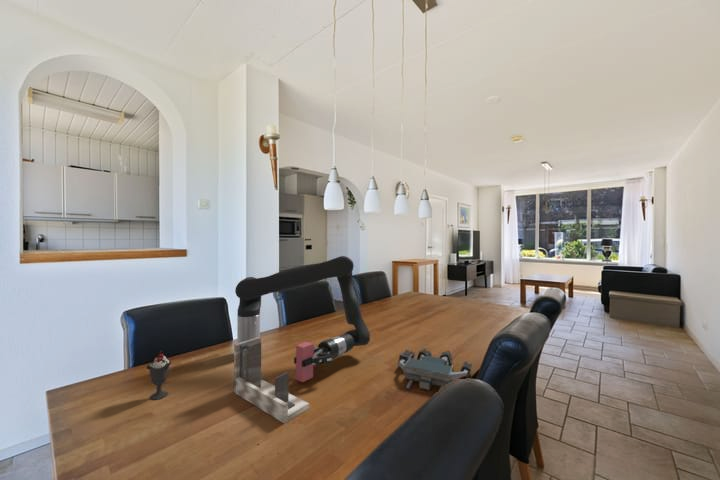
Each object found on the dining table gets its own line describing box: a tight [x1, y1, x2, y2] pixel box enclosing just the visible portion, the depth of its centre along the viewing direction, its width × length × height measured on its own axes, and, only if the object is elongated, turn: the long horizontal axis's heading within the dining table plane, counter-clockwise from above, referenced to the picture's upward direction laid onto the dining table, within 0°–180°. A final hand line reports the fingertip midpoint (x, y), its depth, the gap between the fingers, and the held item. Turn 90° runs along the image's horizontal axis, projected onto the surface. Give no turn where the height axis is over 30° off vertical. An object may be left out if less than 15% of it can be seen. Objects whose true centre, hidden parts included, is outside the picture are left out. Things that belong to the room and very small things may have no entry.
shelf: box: [233, 336, 310, 424], centre depth 94 cm, size 26×9×16 cm, turn 53°
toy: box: [397, 347, 473, 391], centre depth 112 cm, size 27×9×30 cm
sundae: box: [146, 350, 172, 401], centre depth 95 cm, size 7×7×15 cm
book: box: [295, 341, 315, 383], centre depth 105 cm, size 4×5×12 cm
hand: (298, 362), depth 103 cm, fingers closed on book, 3 cm apart
